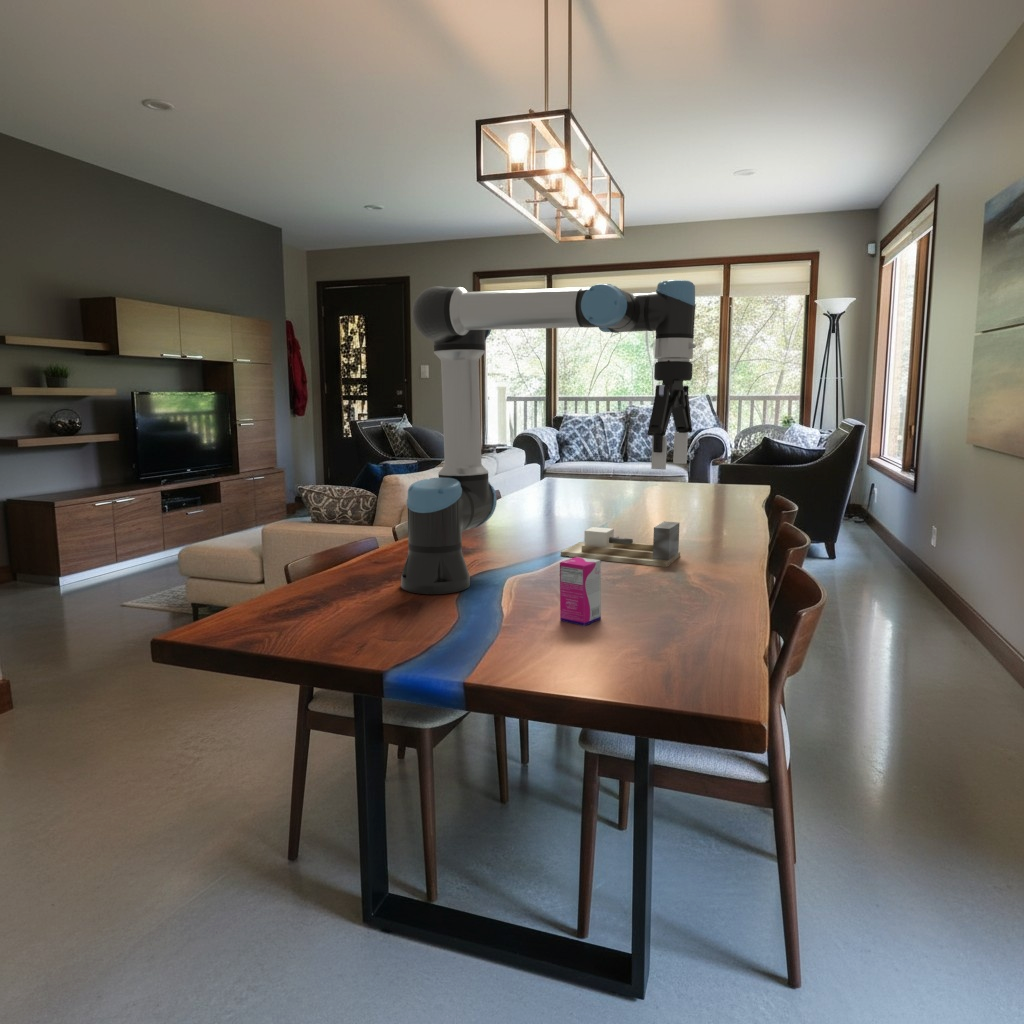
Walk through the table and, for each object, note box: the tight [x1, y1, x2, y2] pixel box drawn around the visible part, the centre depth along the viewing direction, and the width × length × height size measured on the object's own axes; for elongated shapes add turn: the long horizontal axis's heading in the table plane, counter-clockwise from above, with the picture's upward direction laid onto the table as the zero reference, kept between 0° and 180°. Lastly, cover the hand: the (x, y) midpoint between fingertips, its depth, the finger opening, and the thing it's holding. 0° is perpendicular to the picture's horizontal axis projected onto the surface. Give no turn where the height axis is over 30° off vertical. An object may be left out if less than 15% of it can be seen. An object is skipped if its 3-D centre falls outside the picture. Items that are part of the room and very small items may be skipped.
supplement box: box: [559, 557, 602, 627], centre depth 142 cm, size 6×6×12 cm
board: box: [560, 521, 681, 568], centre depth 197 cm, size 28×14×9 cm, turn 64°
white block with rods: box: [583, 526, 634, 548], centre depth 200 cm, size 12×10×5 cm
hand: (669, 466), depth 155 cm, fingers open, 13 cm apart
